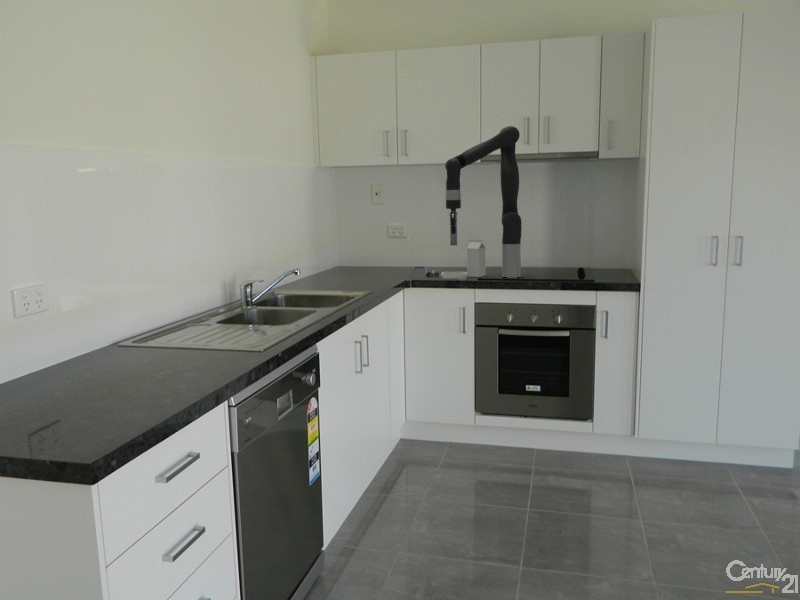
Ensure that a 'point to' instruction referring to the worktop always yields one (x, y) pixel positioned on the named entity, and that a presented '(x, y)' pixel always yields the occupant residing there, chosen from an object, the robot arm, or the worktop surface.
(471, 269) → the milk carton
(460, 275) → the tray
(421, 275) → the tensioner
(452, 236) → the lock pin
